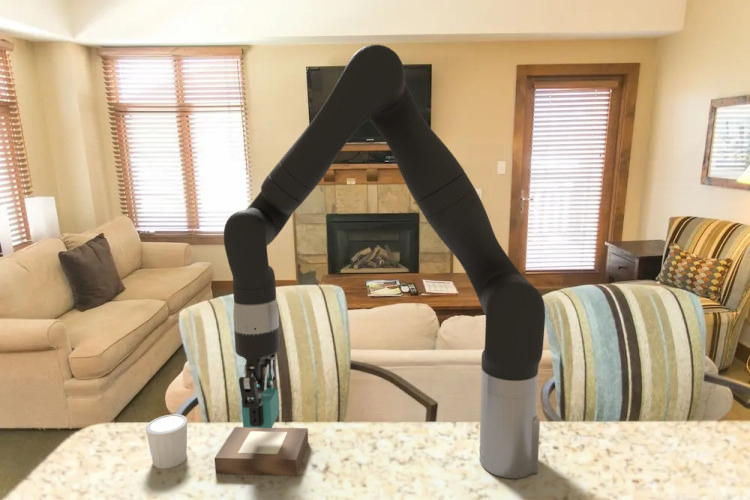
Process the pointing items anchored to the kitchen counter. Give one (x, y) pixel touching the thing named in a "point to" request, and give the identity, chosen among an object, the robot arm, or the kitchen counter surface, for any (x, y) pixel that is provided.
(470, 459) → the kitchen counter surface
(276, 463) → the walnut plinth
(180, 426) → the white tapered cup
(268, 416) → the teal cube
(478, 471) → the kitchen counter surface
